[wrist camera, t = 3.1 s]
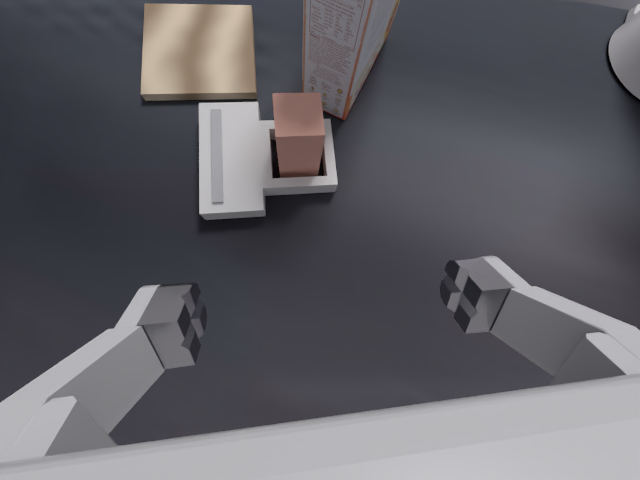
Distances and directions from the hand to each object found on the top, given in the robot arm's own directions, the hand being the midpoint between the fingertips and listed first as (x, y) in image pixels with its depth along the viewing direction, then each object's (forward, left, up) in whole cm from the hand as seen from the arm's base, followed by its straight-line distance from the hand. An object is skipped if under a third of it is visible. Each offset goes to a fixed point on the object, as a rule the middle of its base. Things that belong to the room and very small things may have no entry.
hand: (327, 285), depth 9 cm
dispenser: (+3, -14, -19) cm, 24 cm away
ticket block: (0, -14, -19) cm, 24 cm away
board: (+10, -28, -19) cm, 35 cm away
